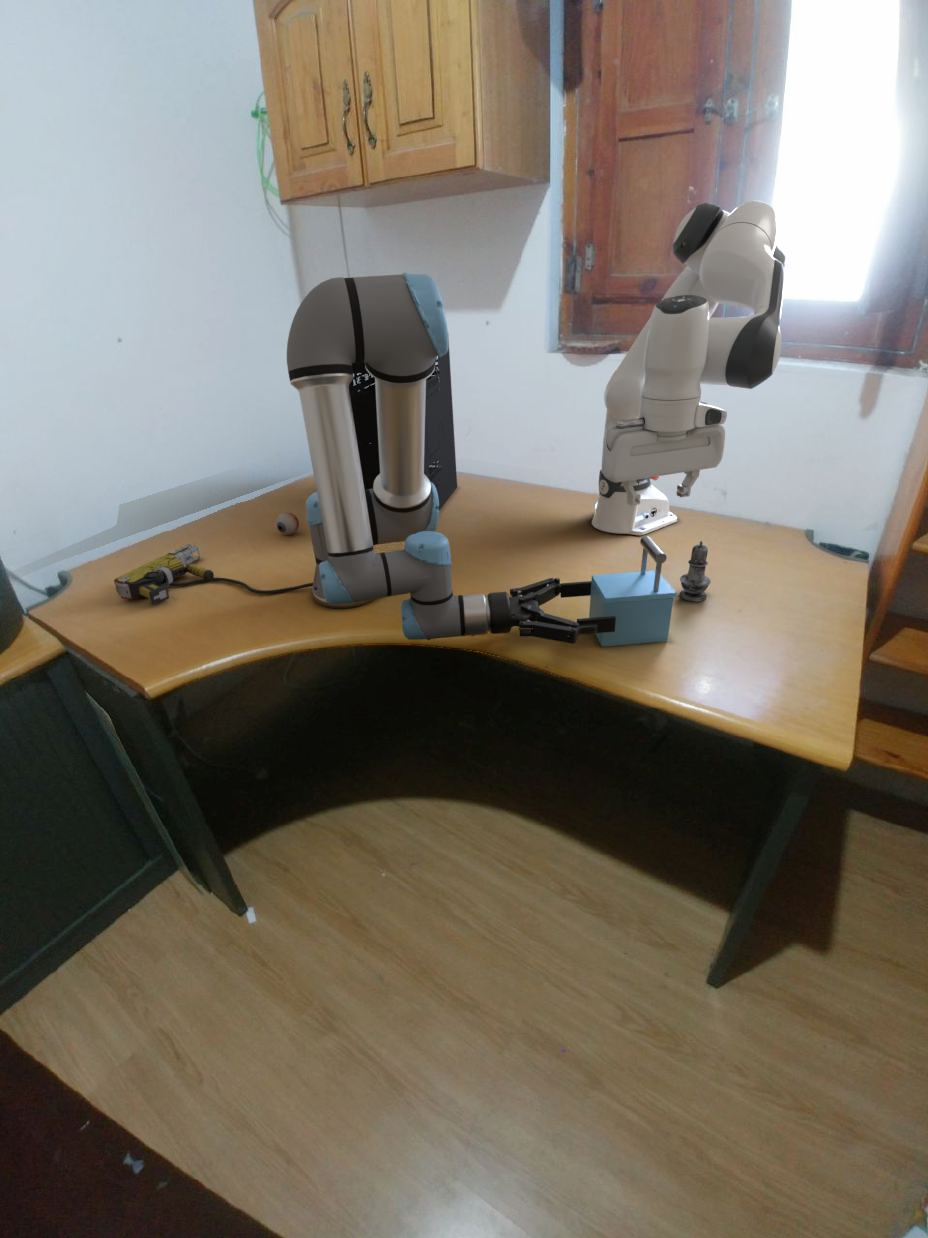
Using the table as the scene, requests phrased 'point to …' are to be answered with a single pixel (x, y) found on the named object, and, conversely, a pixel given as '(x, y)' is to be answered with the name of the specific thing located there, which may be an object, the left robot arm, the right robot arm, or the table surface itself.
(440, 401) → the dark boxy piece
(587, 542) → the table surface
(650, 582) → the lid
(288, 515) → the eyeball
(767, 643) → the table surface
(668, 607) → the chest
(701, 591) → the dark grey turned figure
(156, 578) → the toy gun
